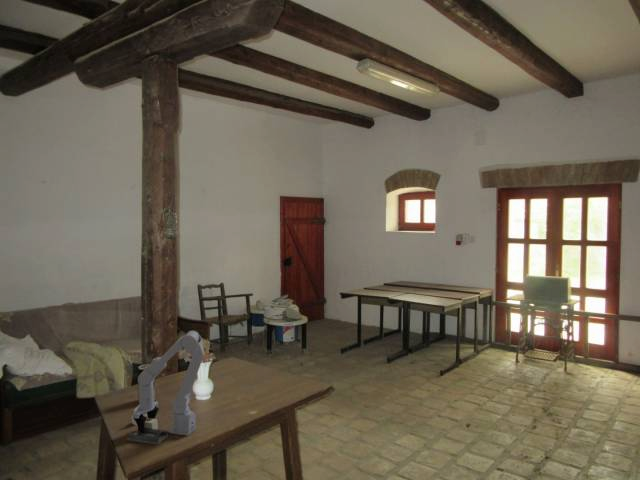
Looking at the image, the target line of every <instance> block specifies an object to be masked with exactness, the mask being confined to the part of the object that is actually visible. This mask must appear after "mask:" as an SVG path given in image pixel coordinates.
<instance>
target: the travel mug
mask: <svg viewBox="0 0 640 480" xmlns="http://www.w3.org/2000/svg"><path fill="white" fill-rule="evenodd" d="M150 364H151V363H150ZM150 364H148V363H147V364H141V365H139V366H138V373H137V378H138V377H139V375H140V374H141V373H142V372H143V371H144V368H145V367H148V366H149V365H150ZM155 378H156V377H155ZM155 378H154V379H153V402H154V401H155V400H156V397H155V396H156V395H155V394H156V390H155V389H156V388H155V387H156V384H155V383H156V381H155V380H156V379H155ZM139 388H140V384H139V382H138V381H137V397H138V401H137V403H139Z"/></svg>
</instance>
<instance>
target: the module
mask: <svg viewBox="0 0 640 480" xmlns="http://www.w3.org/2000/svg"><path fill="white" fill-rule="evenodd" d="M158 422H159V421H158V418H155V419H153V418H148V417H147V418H146V421H145V428H152V429H159V426H158V424H159V423H158Z"/></svg>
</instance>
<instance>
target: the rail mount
mask: <svg viewBox="0 0 640 480" xmlns="http://www.w3.org/2000/svg"><path fill="white" fill-rule="evenodd" d="M168 437H169V434H168V430H165V429H159V428H158V429H152V428H144V432H140V430H139V429H138V428H137V430H136V431H135V432H133V433H131V432H129V433H128V434H127V437H126V440H127V441H131V442H138V443H145V444H150V445H157V446H158V445H159V444H161V443H162V442H164V441H165V440H167V438H168Z"/></svg>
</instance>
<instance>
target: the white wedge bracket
mask: <svg viewBox="0 0 640 480" xmlns="http://www.w3.org/2000/svg"><path fill="white" fill-rule="evenodd" d="M138 406H139V404H138V405H137V406H136V407H135V408H134V409H133V414H134V413H136V411H137V410H138ZM143 415H144V416H145V417H147V418H148V415H147V412H146V413H144V414H143ZM133 416H134V415H132V416H131V424H133V425H134V426H137V423H136V421H135V420H134V419H133Z"/></svg>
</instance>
